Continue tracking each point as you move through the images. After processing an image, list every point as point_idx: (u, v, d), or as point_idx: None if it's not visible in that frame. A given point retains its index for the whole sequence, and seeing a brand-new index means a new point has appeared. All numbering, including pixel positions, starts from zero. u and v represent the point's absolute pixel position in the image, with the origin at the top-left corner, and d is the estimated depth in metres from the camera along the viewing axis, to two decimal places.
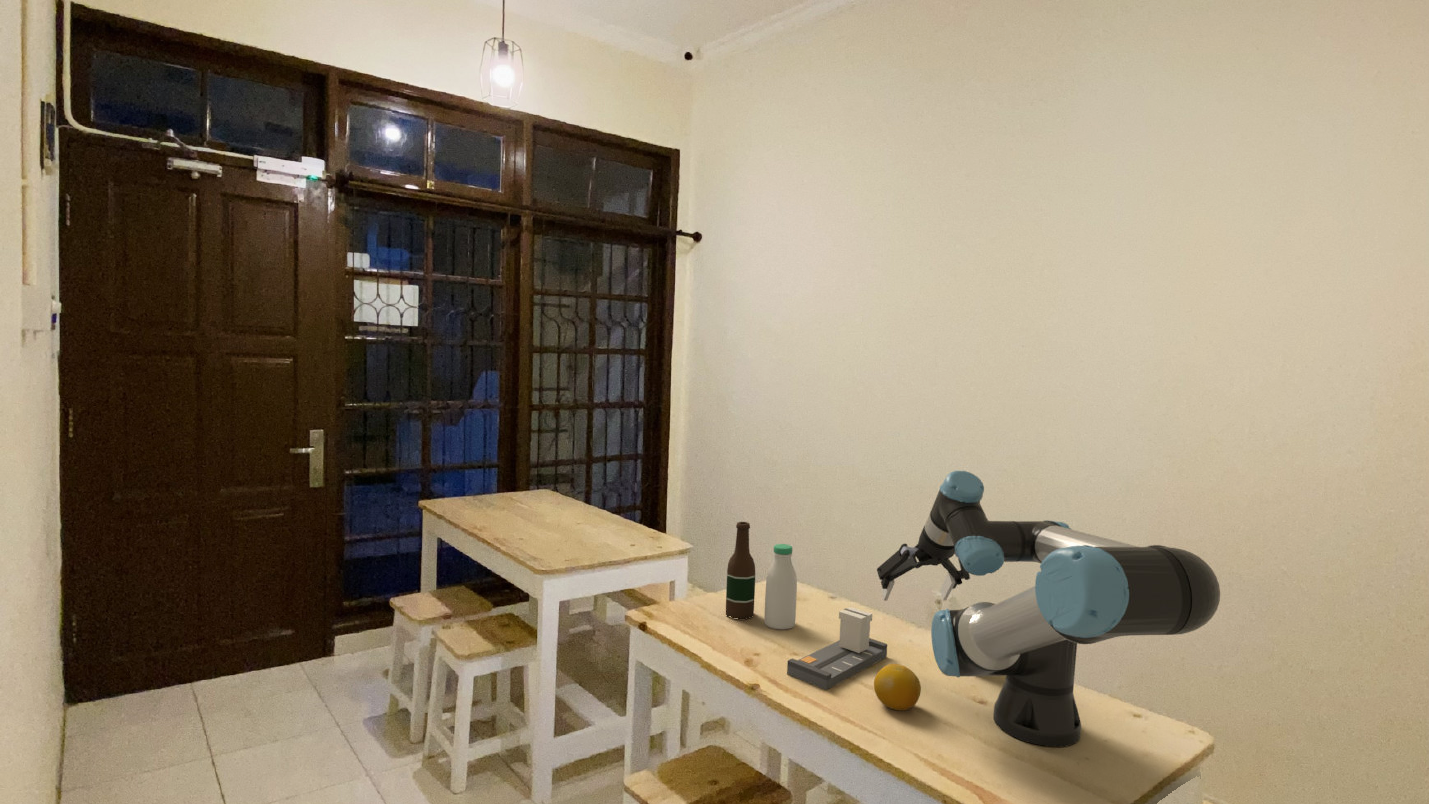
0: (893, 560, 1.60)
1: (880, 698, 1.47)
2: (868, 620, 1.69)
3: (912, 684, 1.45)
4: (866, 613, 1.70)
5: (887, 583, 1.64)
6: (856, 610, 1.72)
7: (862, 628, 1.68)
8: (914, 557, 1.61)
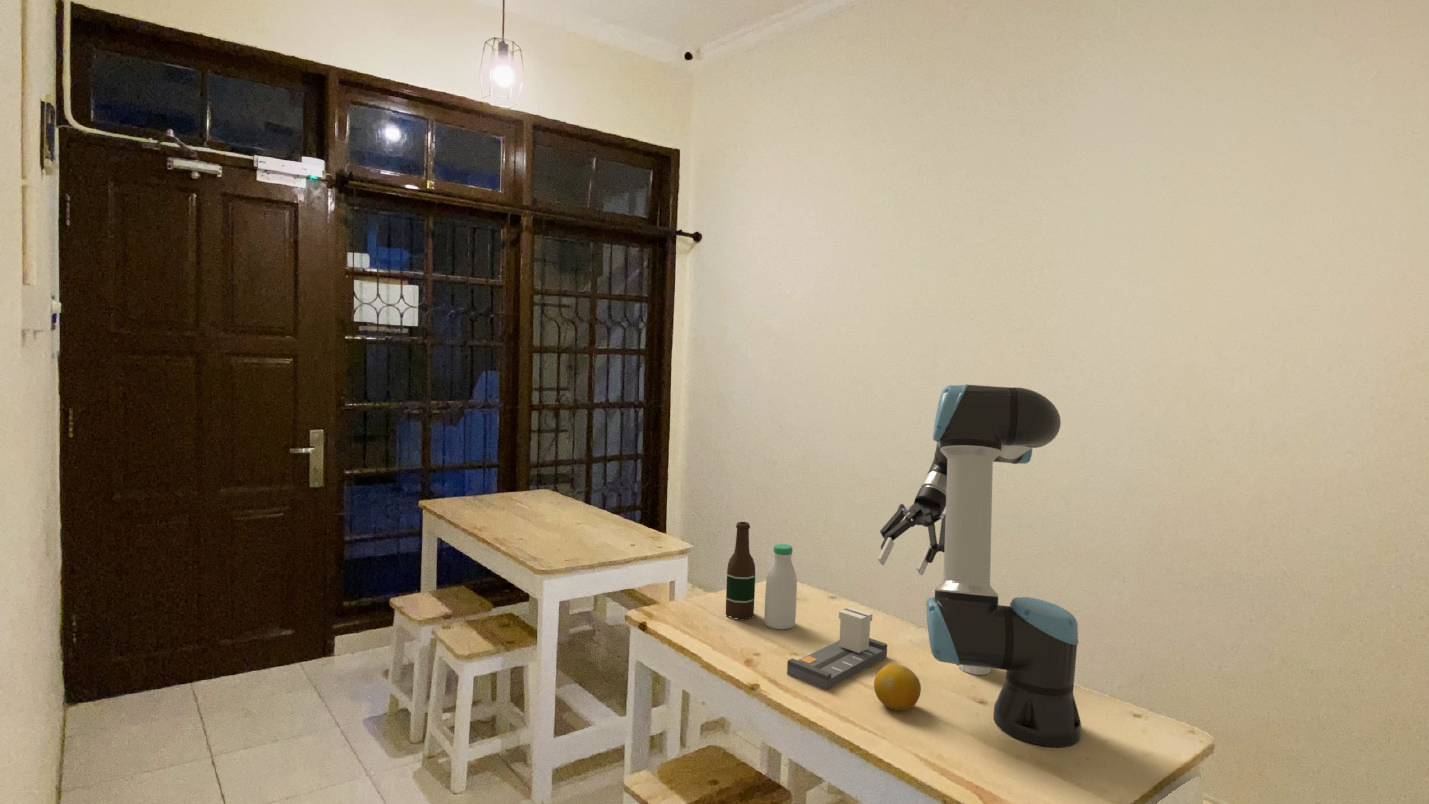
0: None
1: (880, 698, 1.47)
2: (868, 620, 1.69)
3: (912, 684, 1.45)
4: (866, 613, 1.70)
5: (885, 542, 1.90)
6: (856, 610, 1.72)
7: (862, 628, 1.68)
8: (911, 522, 1.92)
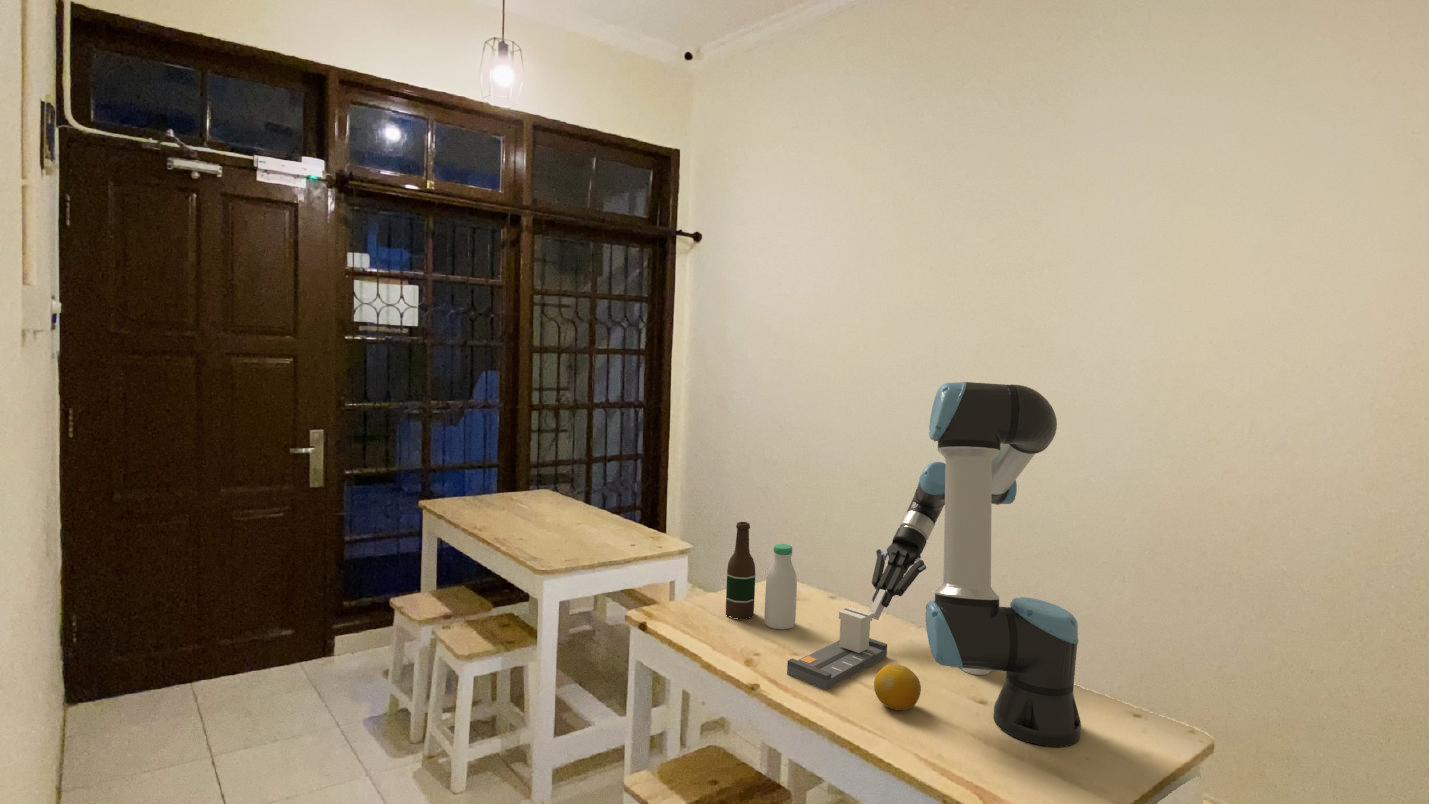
0: None
1: (880, 698, 1.47)
2: (868, 620, 1.69)
3: (912, 684, 1.45)
4: (866, 613, 1.70)
5: (877, 594, 1.80)
6: (856, 610, 1.72)
7: (862, 628, 1.68)
8: None
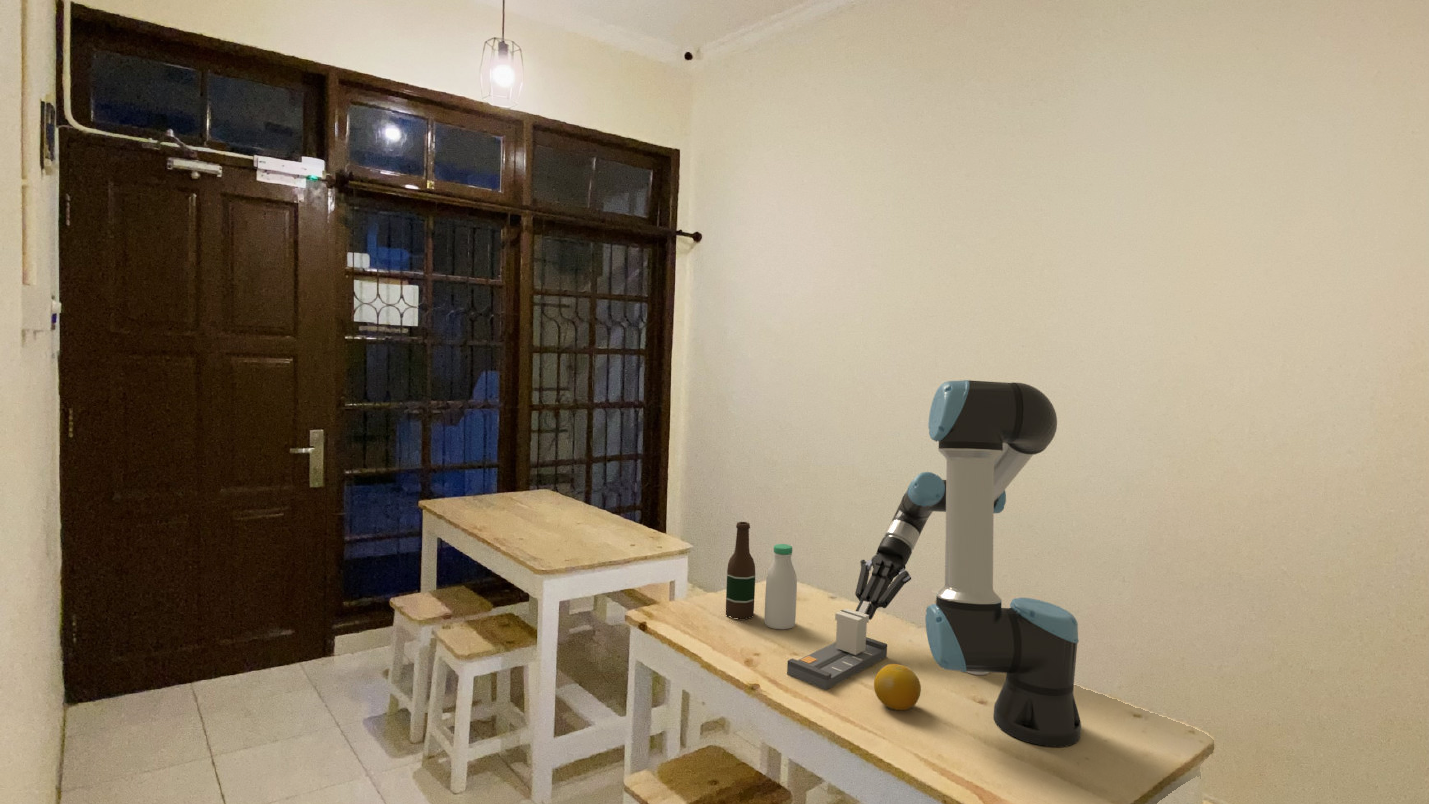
0: None
1: (880, 698, 1.47)
2: (865, 622, 1.68)
3: (912, 684, 1.45)
4: (863, 615, 1.69)
5: (860, 606, 1.75)
6: (853, 611, 1.71)
7: (859, 630, 1.67)
8: None
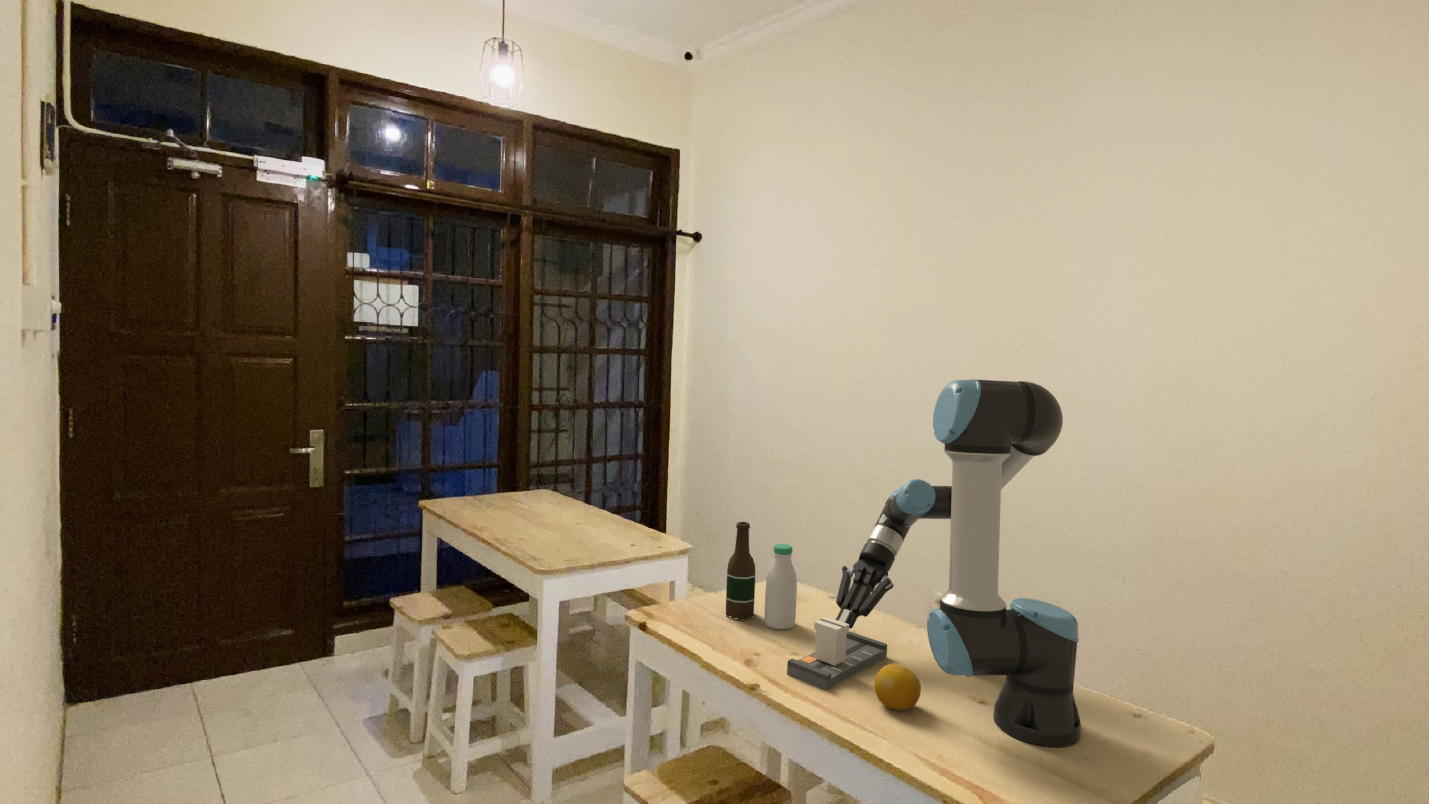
0: None
1: (880, 698, 1.47)
2: (844, 631, 1.62)
3: (912, 684, 1.45)
4: (843, 624, 1.63)
5: (841, 614, 1.69)
6: (832, 620, 1.65)
7: (838, 639, 1.61)
8: None
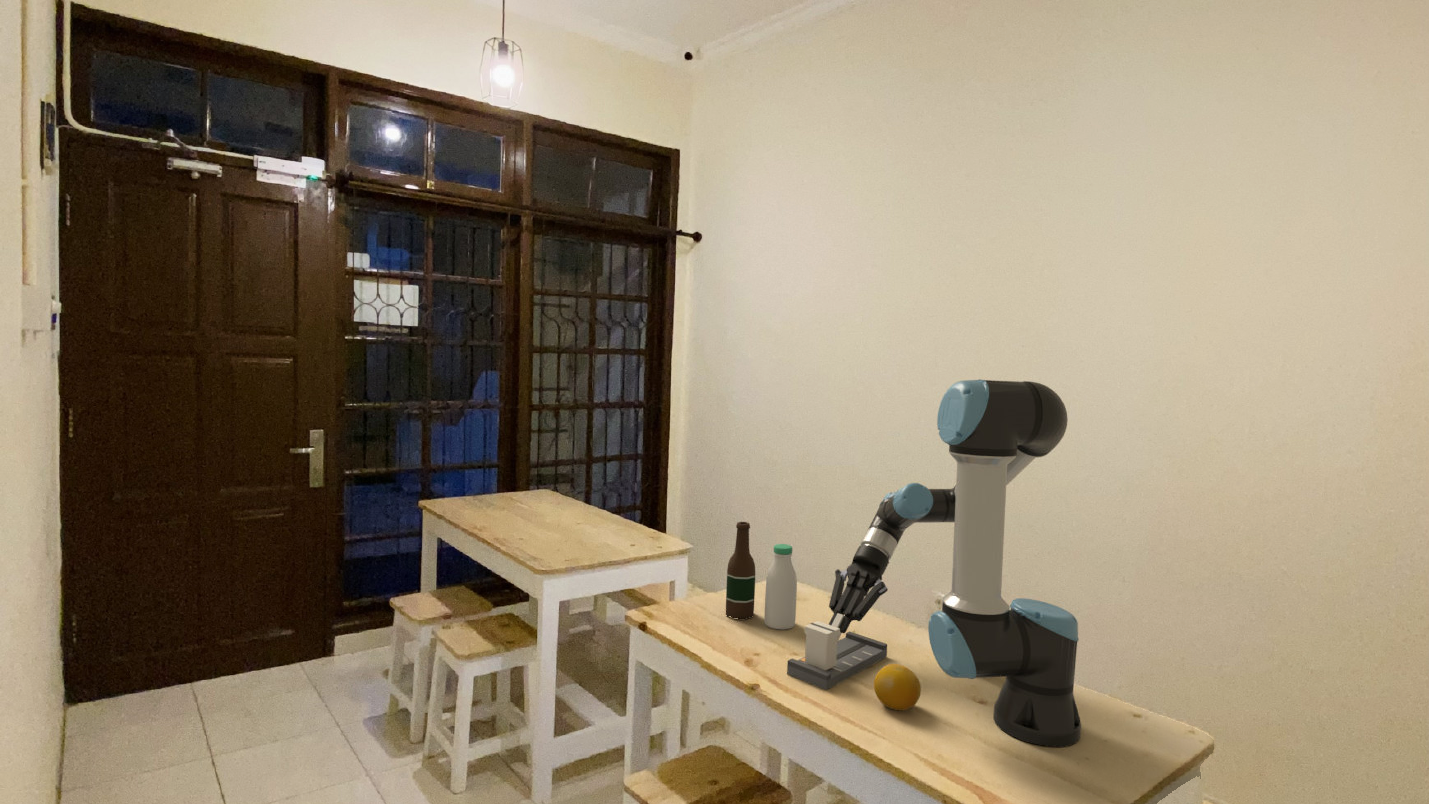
0: None
1: (880, 698, 1.47)
2: (835, 635, 1.60)
3: (912, 684, 1.45)
4: (833, 628, 1.61)
5: (834, 618, 1.66)
6: (823, 625, 1.62)
7: (828, 644, 1.59)
8: None
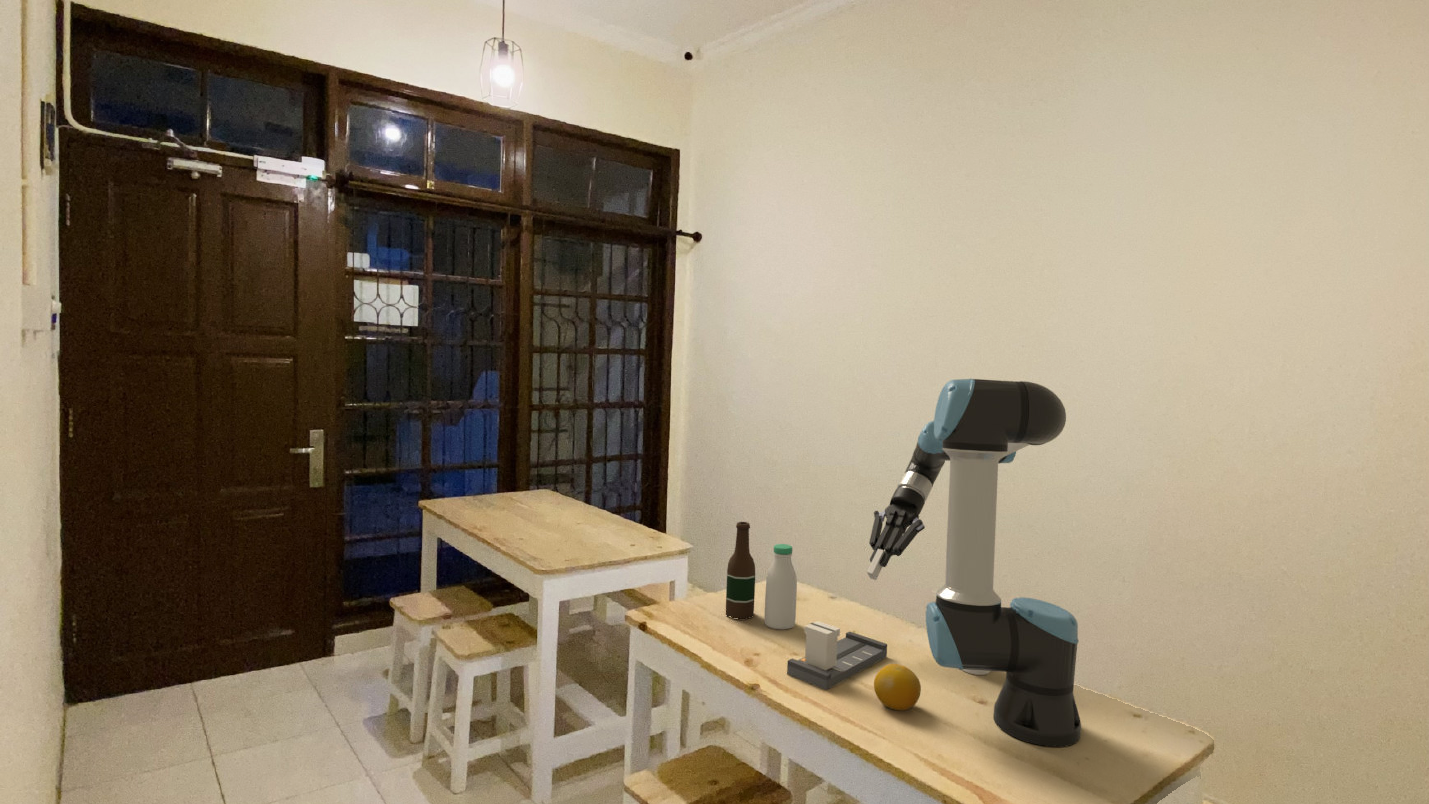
0: None
1: (880, 698, 1.47)
2: (835, 635, 1.60)
3: (912, 684, 1.45)
4: (833, 628, 1.61)
5: (875, 554, 1.77)
6: (823, 624, 1.62)
7: (828, 644, 1.59)
8: None
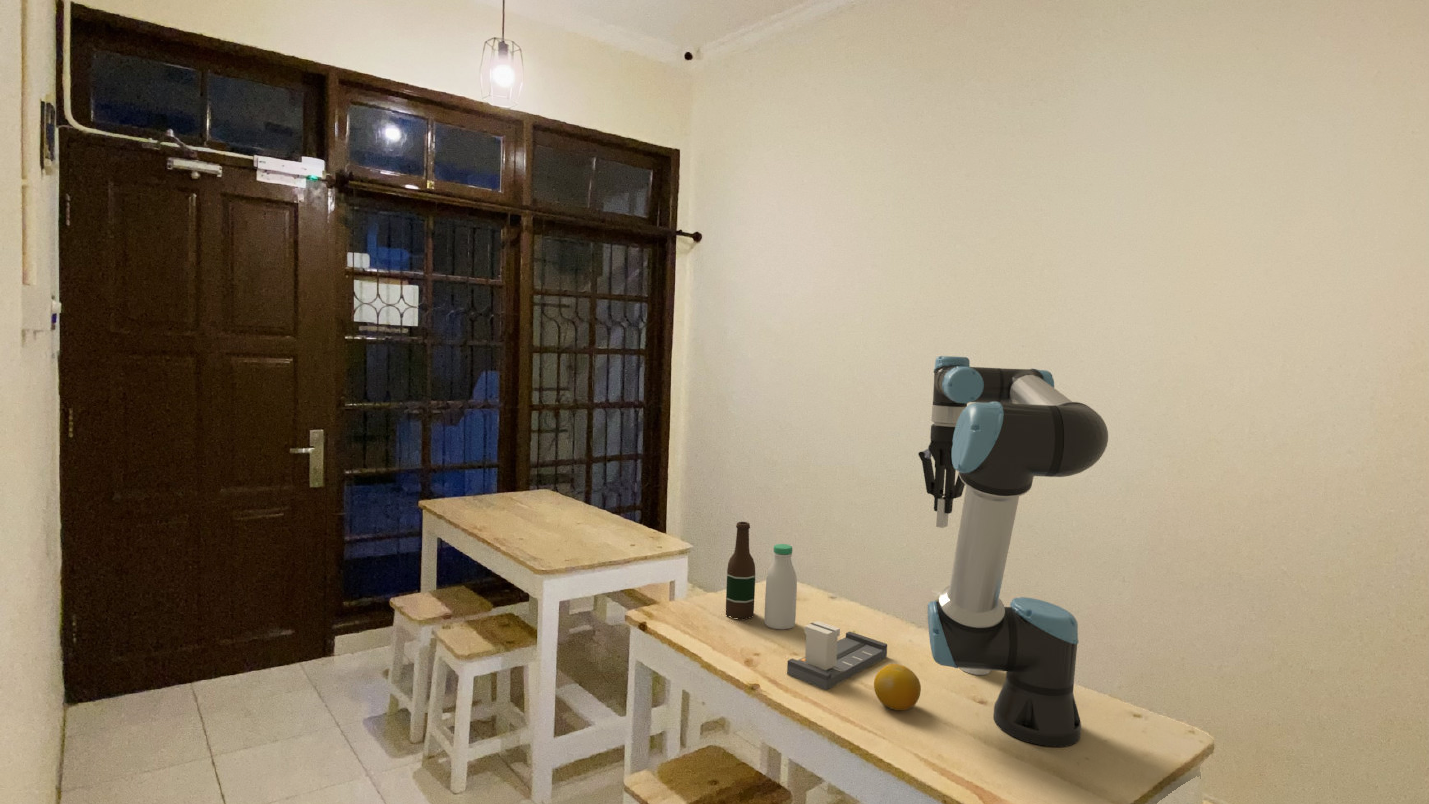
0: None
1: (880, 698, 1.47)
2: (835, 635, 1.60)
3: (912, 684, 1.45)
4: (833, 628, 1.61)
5: (937, 503, 1.74)
6: (823, 624, 1.62)
7: (828, 644, 1.59)
8: (941, 464, 1.75)
